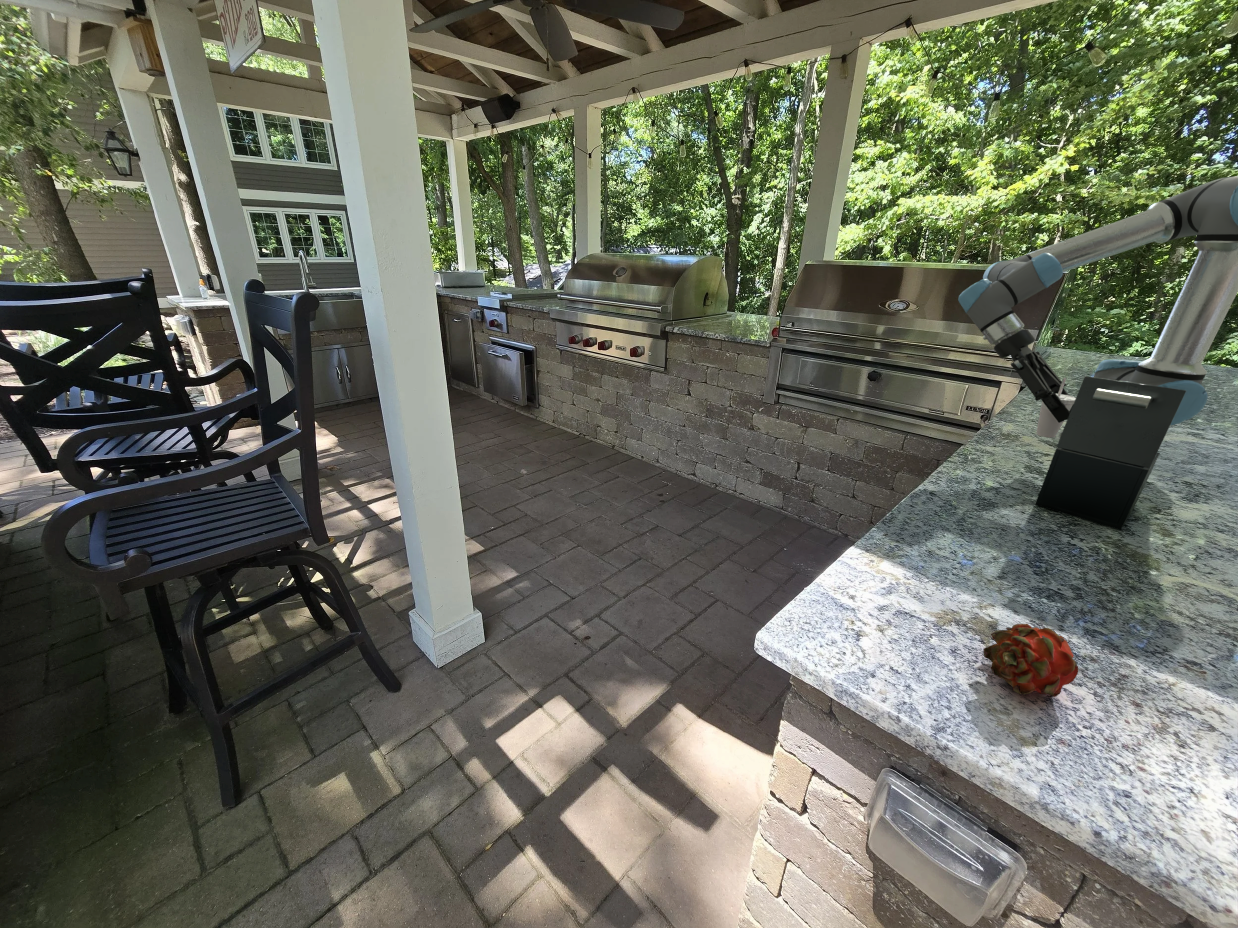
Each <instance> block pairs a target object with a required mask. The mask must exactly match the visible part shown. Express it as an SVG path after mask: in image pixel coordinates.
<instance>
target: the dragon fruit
mask: <svg viewBox="0 0 1238 928" xmlns="http://www.w3.org/2000/svg"><path fill="white" fill-rule="evenodd" d="M990 636H991V638H992V640H993V641H994V642H995V643H993V644H991V645H989V646H987V647H984V648H983V657H984V659H988V660H989V661H990V662H991V666H990V669H991V672H992V673H993V675H994V676H996V677H998V678H1000V679H1002V680H1004V681H1005V682H1006V683H1007V684H1008V685H1010V686H1011V687H1012V692H1015V693H1017V694H1020V695H1029V694H1032V693H1033V692H1034V691H1035V692H1037V693H1038V694H1040V695H1047V697H1048V698H1056V697H1057V696H1059V695H1061V693H1062V690H1063V687H1064V686H1066V685H1069V684H1071V683H1073V682H1074V680H1075V679H1076V677H1077V676H1078V674H1079V666H1078V664H1077V661H1076V660H1075V659H1074V657H1075V656H1074V653H1073V651H1072V649H1071V647H1070V645H1069V642H1068V641H1067V640H1066V639H1065V638H1064V636H1063V635H1059V634H1058V633H1057V632H1055V630H1053V629H1052V628H1050V627H1042V628H1039V627H1037V626H1035V627H1032V626H1031V625H1029V623H1016V624H1013V625H1012V626H1011V627H1006V628H1005V629H997V630H994V631H993V632H991V634H990Z"/></svg>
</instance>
